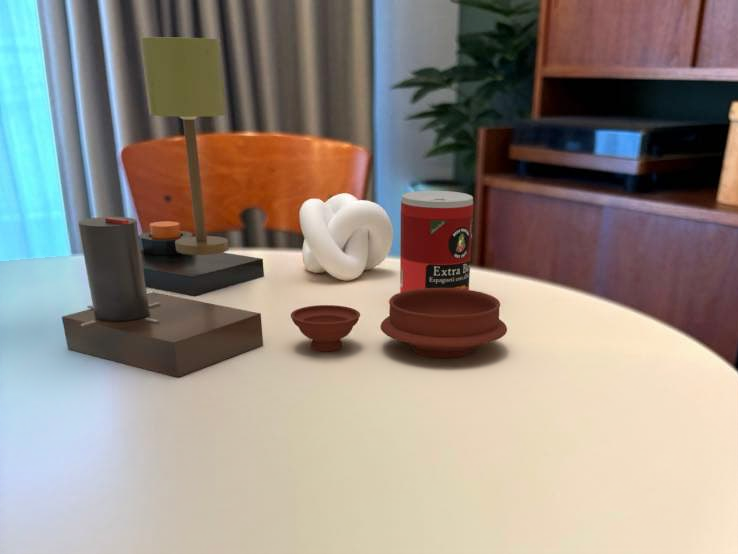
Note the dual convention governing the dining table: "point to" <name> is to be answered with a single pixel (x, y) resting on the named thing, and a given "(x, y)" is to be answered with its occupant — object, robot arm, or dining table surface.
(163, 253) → the lamp base
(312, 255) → the white knot sculpture
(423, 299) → the pottery
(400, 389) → the dining table surface
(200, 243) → the desk lamp
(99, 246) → the dimmer knob
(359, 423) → the dining table surface
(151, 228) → the lamp switch
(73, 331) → the panel
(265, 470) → the dining table surface
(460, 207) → the canned food
